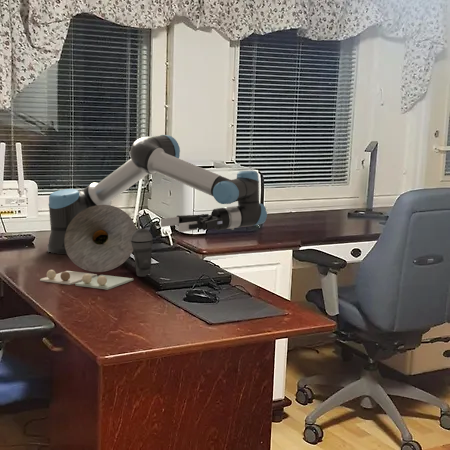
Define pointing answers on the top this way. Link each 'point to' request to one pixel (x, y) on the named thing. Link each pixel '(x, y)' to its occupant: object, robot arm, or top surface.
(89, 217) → the disc
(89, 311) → the top surface
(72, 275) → the cream card
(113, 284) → the sage card
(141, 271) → the beverage cup
